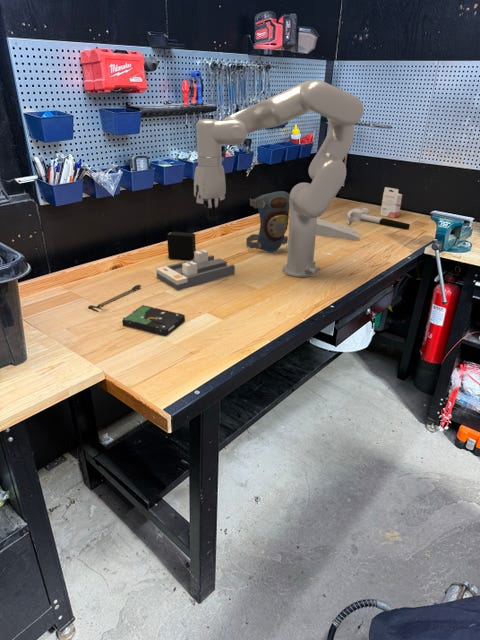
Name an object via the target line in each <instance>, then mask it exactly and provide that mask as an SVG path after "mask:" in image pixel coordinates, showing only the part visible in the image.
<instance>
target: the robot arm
mask: <svg viewBox="0 0 480 640" xmlns="http://www.w3.org/2000/svg"><path fill="white" fill-rule="evenodd" d="M364 108H365V107H364V103H363V101H362V100H361V99H360V98H359V97H358V96H356V95H354V94H353V93H350V92H348V91H345V90H343V89H340V88H338V87H337V86H334V85H332V84H329V82H325V81H322V80H317V79H316V80H313V79H312V80H306V81H304V82H301V83H299V84H296V85H295V86H292V87H291V88H289V89H286V90H284V91H282V92H280V93H278V94H276V95H273V96H271V97H269V98H266V99H264V100H261V101H260V102H258V103H255V104H253V105H251V106H249V107H245V108H244V109H242V110H239V111H237V112H235V113H233V114H231V115H228V116H227V117H224V118H223V119H222V120H218V119H214V118H213V119H212V118H206V119H205V118H204V119H199V120H198V121H197V122H196V143H197V144H196V145H197V146H196V147H197V166H195V169H194V175H193V176H194V178H193V195H194V198H196V201H195V202H196V203H197V204H202V205H203V206H204V207H205V214H206V219H208V220H210V221H214V220H216V219H217V207H218V206H219V204H220V202H221V201H223V200H225V198H226V196H225V195H226V193H227V192H226V191H227V186H226V184H227V183H226V175H225V168H224V165H222V163H223V162H224V160H225V158H224V156H223V155H222V145H229V146H239V145H241V144H243V143H244V142H245V141H246V139H247V136H248V135H249V134H251V133H254V132H256V131H259V130H263V129H268V128H269V129H270V128H271V129H272V128H276V127H279V126H282V125H284V124H286V123H289V122H290V121H292V120H294V119H297V118H298V117H301V116H303V115H305V114H307V113H311V112H314V113H315V114H318V115H320V116H321V117H325V118H326V119H327V123H328V131H327V135H326V136H325V139H323V142H322V144H321V146H320V148H319V149H318V150H317V153H316V154H315V156H314V157H313V159H312V161H311V162H310V164H309V167H308V175H309V177H310V179H311V180H312V181H311V183H309V182H299V183H298V184H296V185H294V186H293V187H292V189H291V190H290V192H289V194H290V196H289V222H288V225H289V226H288V241H287V260H286V264H284V265H283V266H282V269H281V270H282V272H283V273H284V274H286V275H288V276H291V277H296V278H308V277H312V276H316V275H317V274H318V273H319V272H320V270H321V268H320V266H319V267H318V266H316V261H314V260H315V259H314V257H315V248H316V235H317V234H316V227H317V219H318V218H319V217H320V216H322V215H323V214H324V213H325V212H326V211H327V210H328V208H329V207H330V206H331V204H332V202H333V200H335V197H336V196H337V194H338V193H339V191H340V190H341V188H342V186H343V184H344V183H345V181H346V178H347V177H346V176H347V167H346V165H345V163H344V159H345V157H346V155H347V154H348V152H349V150H350V148H351V146H352V143H353V142H354V141H353V140H354V137H355V135H354V133H355V130H354V129H355V128H354V127H355V126H354V125H356V124H357V123H359V122H360V121H361V119H362V118H363V115H364V111H365V110H364Z"/></svg>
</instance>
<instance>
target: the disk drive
mask: <svg viewBox="0 0 480 640" xmlns="http://www.w3.org/2000/svg"><path fill="white" fill-rule="evenodd" d="M185 322H186V316H185V314H182V313H179V312H174V311H170V310H166V309H162V308H157V307H153V306H149V305H148V306H147V305H143V304H142V305H141V306H139V307H138V308H136V309H135V310H133V311H132V312H131V313H130V314H128V315H126V317H123V318H122V321H121V323H122V326H123V327H126V328H131V329H135V330H138V331H143V332H146V333H147V332H148V333H151V334H155V335H158V336H162V337H168V336H169V335H170V334H171V333H172V332H174V331H175V330H176V329H178V327H180V326H181V325H182V324H184V323H185Z"/></svg>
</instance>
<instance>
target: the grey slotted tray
mask: <svg viewBox="0 0 480 640" xmlns="http://www.w3.org/2000/svg"><path fill="white" fill-rule="evenodd" d="M191 261H193V262H195V261H194V259H193V260H190V261H188V262H191ZM186 262H187V261H185V260H184V261H182V262H177V263H174V264H170V265H166V266H161V267H158V268H156V279H158V280H159V281H161V282H163V283H165V284H166V285H168V286H170V287H171V288H173V289H175V290H176V291H181V290H184V289H188V288H191V287H194V286H195V287H196V286H198V285H202V284H206V283H208V282H213V281H217V280H219V279H223V278H227V277H230V276H234V275H235V273H236V272H235V271H236V270H235V269H236V266H235V265H234V264H229V265H227V264H228V262H227V261H226V260H225V259H221V258H220V257H219V258H215V255H213V254H212V255H211V254H210V255H208V261H207V262H203V263H199V264H197V274H195V275H191V276H187V277H185V276H183V270H182V264H183V263H186Z"/></svg>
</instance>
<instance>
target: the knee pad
mask: <svg viewBox="0 0 480 640" xmlns="http://www.w3.org/2000/svg"><path fill="white" fill-rule="evenodd" d="M289 196H290V192H286V191H284V190H283V191H282V190H280V191H274V192H271V193H266V194H265V193H264V194H261V195H260V196H258V197H255V198H253V199H252V198H251V197H250V198H249V206H251V207H253V209H258V215H259V219H260V220H259V222H260V223H259V224H260V226H259V231H258V233H257V234H256V233H254V234H251V235H249V236H248V237H246V241H245V242H246V246H247V247H248V248H249V249H256V250H261V251H263V252H267V253H274V252H277V251H278V250H280V248H281V247H282V245H284V246H285V244H287V245H288V240H289V235H288V236H285V235H286V232H287V230H288V227H289V226H288V225H289V220H290V210H289ZM254 241H255V242H254Z"/></svg>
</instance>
